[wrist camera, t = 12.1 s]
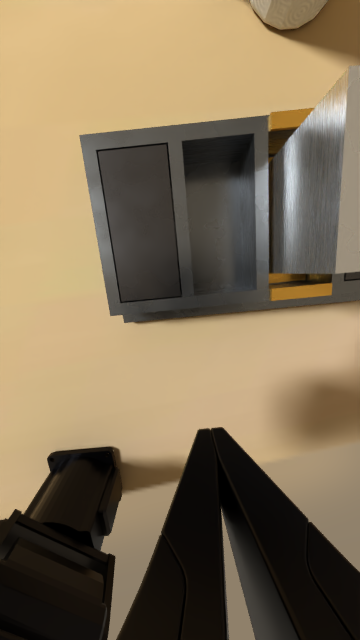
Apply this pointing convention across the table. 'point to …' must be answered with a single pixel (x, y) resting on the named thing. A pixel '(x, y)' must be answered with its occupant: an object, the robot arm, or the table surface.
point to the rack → (195, 220)
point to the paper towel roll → (287, 12)
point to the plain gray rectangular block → (319, 188)
